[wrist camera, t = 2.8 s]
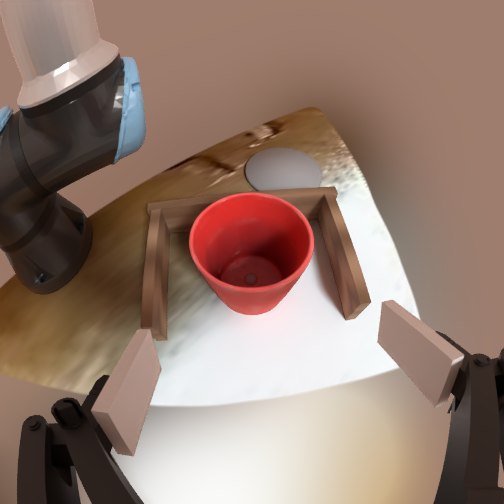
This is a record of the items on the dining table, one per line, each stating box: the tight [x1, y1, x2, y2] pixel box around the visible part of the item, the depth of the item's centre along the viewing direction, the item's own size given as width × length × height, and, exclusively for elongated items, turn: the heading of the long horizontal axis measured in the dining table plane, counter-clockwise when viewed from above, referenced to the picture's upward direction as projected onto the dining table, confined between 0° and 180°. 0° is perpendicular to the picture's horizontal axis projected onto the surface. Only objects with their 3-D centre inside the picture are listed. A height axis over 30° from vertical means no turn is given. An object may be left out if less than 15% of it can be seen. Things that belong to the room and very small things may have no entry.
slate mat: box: [246, 147, 322, 191], centre depth 42 cm, size 12×12×1 cm
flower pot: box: [189, 193, 314, 315], centre depth 28 cm, size 11×11×10 cm
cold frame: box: [141, 187, 371, 341], centre depth 31 cm, size 16×24×5 cm, turn 96°
